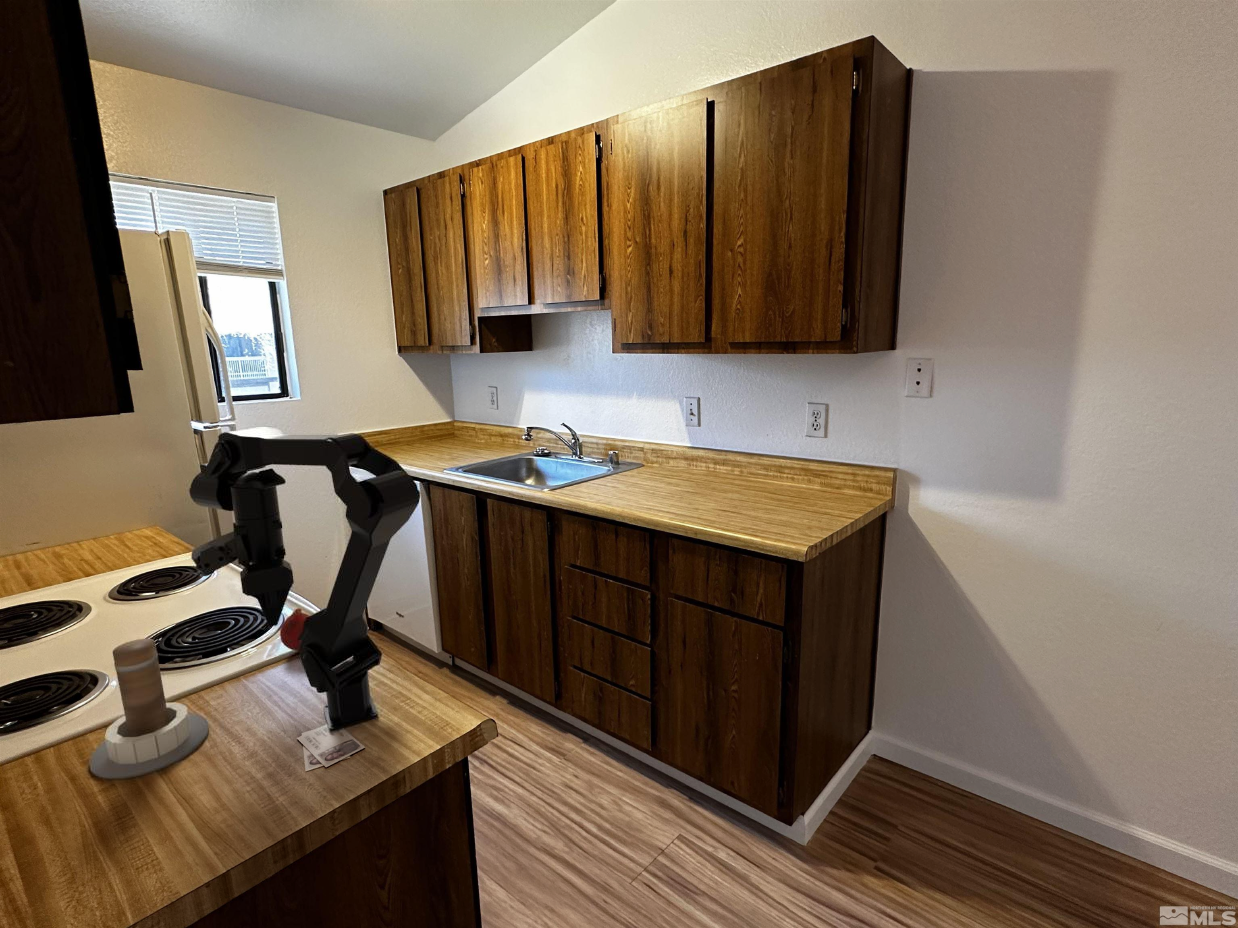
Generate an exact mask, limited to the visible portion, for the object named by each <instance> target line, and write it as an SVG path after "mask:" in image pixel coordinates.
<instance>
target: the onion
mask: <svg viewBox="0 0 1238 928" xmlns="http://www.w3.org/2000/svg"><path fill="white" fill-rule="evenodd" d="M310 615H311V614H307V613H305V612H302V608H301V607H296V608H295V609H294V610H293V612H292V613H291V614H290V615H288V617H286V619H285V620H284V622H283V623H282V624H281V626H280V630H279V635H280V637H279V638H280V641H281V643H282V644H283V645H284V646H285V647H286V648H288V649H290V650H291V651H295V652H299V646H300V642H301V640H298V637H299V636H300V635H301V633H302V630H303V623H304V621H305V619H306V618H307V617H308V616H310Z"/></svg>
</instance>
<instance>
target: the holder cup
mask: <svg viewBox="0 0 1238 928" xmlns="http://www.w3.org/2000/svg"><path fill="white" fill-rule="evenodd" d="M166 707H167V712H168V718H169V724H168V725H167V726H165V727H163V728H161V729H159V730H157V731H155V732H153V733H149V734H146V735H142V736H139V737H129V733H128V728H127V723H126V718H125V715H122V716H121V717H119V718H117V720H115V721H114V722H113V723H112V724H110V725H109V726H108V727H107V729H106V732H105V735H104V741H102V742H101V743H100V744H98V746H97V747H96V748H95V749H94V750H93V752H92V754H91V755H90V757H89V761H88V764H89V765H88V766H89V769H90V770H89V771H90V772H91V774H92V775H94V776H95V777H98V778H99V779H100V778H101V779H104V780H105V779H106V780H124V779H125V780H126V779H133V778H136V777H141V776H144V775H147V774H150V773H154V772H157V771H159V770H162V769H165V768H166V767H169V766H171V765H173V764H174V763H177V762H179V761H181V760H182V759H184V758H185V757H187V756H189V755H190V754H191V753H193V752H194V751H196V750H197V748H199V747H200V746H201V745H202V744H203V742H204V741H205V740H206V739H207V737H208V734H209V731H210V727H209V722H208V720H207V719H206V717H204V716H202V714H201V715H200V714H198V713H193V712H189V710H188V709H189V708H188V707H187V706H186V705H185V704H183V703H180V702H175V701H174V702H166Z"/></svg>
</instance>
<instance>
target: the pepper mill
mask: <svg viewBox="0 0 1238 928" xmlns="http://www.w3.org/2000/svg"><path fill="white" fill-rule="evenodd" d="M112 657H113V662H114V664H113V665H114V670H115V672H116V677H117V682H118V686H119V687H118V688H119V692H120V697H121V702H122V707H123V713H124V716H125V718H126V723H127V728H128V733H129V737H139V736H142V735H146V734H149V733H153V732H155V731H157V730H159V729H161V728H163V727H165V726H167V725H168V724H169V718H168V712H167V707H166V703H167V701H166V695H165V691H164V685H163V680H162V674H161V669H160V664H159V663H160V662H159V655H158V651H157V646H156V642H155V640H154V639H152V638H140V639H139V638H137V639H133V640H130V641H127V642H124V643H122V644H119V645H117V647H115V648H114V649H113V650H112Z"/></svg>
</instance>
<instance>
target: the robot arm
mask: <svg viewBox="0 0 1238 928" xmlns="http://www.w3.org/2000/svg"><path fill="white" fill-rule="evenodd" d="M354 464H356V466H357V467H358V468H360V469H363V470H364V471H366V472H368V473H369V474H371V475H373V476H374V477H370V478H366V479H363V480H359V481H358V480H357V479H356V478H355V477H354V476H353V475H352V473H351V470H350V465H354ZM272 465H275V466H276V465H277V466H278V465H279V466H280V465H281V466H282V465H283V466H310V467H313V466H314V467H315V466H316V467H317V466H318V467H325V468H326V469H327V470H328V471H329V472H330V473H331V479H332V484H333V491H334V493H335V495H336V496H337V497H338V498H339V499H340V501H341V502H342V503H343V504H344V505H345V507H346V508H345V519H346V521H347V523H348V526H349V527H350V531H351V533H350V536H349V539H348V542H347V545H346V548H345V551H344V555H343V557H342V560H341V563H340V566H339V569H338V572H337V575H336V577H335V580H334V584H333V585H332V586H333V587H332V589H331V592H330V596H329V599H328V601H327V606H326V607H325V608H322V609H319V610H318V611H316V612H314V613H313V614H309V615H310V616H308V617H307V618H306V619H305V621H304V623H303V630H302V633H301V635H300V636H299V637H298V640H301V642H300V646H299V651H298V652H299V659H300V662H301V665H302V667H303V669H304V673H305V675H306V678H307V680H308V683H309V685H310V687H312V688H315V691H316V693H318V694H323V693H326V694H325V695H326V702H327V704H325V705H324V706H323V707H322V709H323V712H324V716H325V720H326V724H327V728H328V730H329V731H330V732H333V731H337V730H340V729H343V728H347V727H350V726H353V725H357V724H360V723H362V722H365V721H369V720H372V719H375V718H377V717H378V716H379V713H378V710H377V707H376V705H375V703H374V701H373V698H372V695H371V689H370V682H369V681H370V680H369V671H370V670H371V669H373V668H375V667H377V666H379V665H380V664H381V661H382V656H383V652H382V651H381V649H379V648H378V646H377V645H376V643H375V642H374V641H373V640H372V638H371V637H370V636H369V635H368V631H369V629H368V627H369V625H368V624H367V622H366V620H365V618H364V613H365V611H366V608H367V605H368V603H369V600H370V599H369V598H370V597H371V594H372V591H373V588H374V585H375V584H376V583H375V582H376V579H377V577H378V575H379V572H380V569H381V567H382V564H383V561H384V558H385V555H386V553H387V550H388V547H389V544H390V542H391V540H392V538H393V537H394V536H395V535H396V534H397V533H398V531H400V530H401V528H403V527H404V526H405V524H406V523H408V521H409V520H410V518H411V517H412V515H413V514H414V512H415V510H416V509H417V507H418V506H419V504H420V500H421V492H420V490H419V488H418V485H417V483H416V482H415V480H414V479H413V477H412V476H411V475H409V473H407V471H406V470H405V468H403V467H402V465H400V463H399V462H398V461H397V460H395V459H394V458H392V457H390V456H389V455H387V454H385V453H383V452H381V451H380V450H378V449H376V448H375V447H373V446H372V445H371V444H370V442H368V441H367V440H366V438H365V437H363V436H362V435H361V434H358V433H353V432H351V433H350V432H349V433H344V434H287V433H284V432H283V431H282V430H281V429H278V428H274V427H269V426H264V425H263V426H262V425H261V426H256V427H250V428H243V429H237V430H231V431H226V432H225V431H224V432H221V433H220V434H218V436H217V442H216V443H215V444H214V446H213V450H212V451H211V455H210V457H209V460H208V462H206V463H201V464H200V465H199V468H200V472H198V474H196V475H195V476H194V478H193V479H192V481H191V484H190V487H189V497H190V498H191V500H192V501H193V503H195V504H196V505H197V506H200V507H204V508H210V509H215V510H222V511H226V512H233V517H234V522H233V523H232V525H233V531H230V532H228V533H226V534H223V535H220V536H218V537H216V538H213V539H211V540H210V541H207V542H205V543H203V544H201V545H199V546H196V548H194V549H192V551H191V557H190V558H191V559H192V561H193V563H194V564H195V568H196V570H198V571H199V572H200V573H201V574H202V575H201V576H203V577H207V576H211V575H213V574H214V573H215V571H216V572H217V570H220V569H221V568H224V567H226V566H227V565H230V564H233V563H234V562H235V561H237V564H238V565H240V566H243V568H242V570H240V572H239V576H240V583H241V590H242V594H244V595H245V596H247V597H252V598H254V599H257V601H258V605H259V607H260V608H261V611H262V614H263V616H264V618H265V621H266V622H267V623H266V624H267V626H268V627H269V628H270V627H271V628H272V627H276V626H277V625H279V622H280V618H281V616H282V613H283V610H284V607H285V605H286V602H287V598H288V596H289V593H290V590H291V588H292V587H293V584H294V583H295V581H294V573H293V568H292V565H291V563H290V562H289V561H287V560H285V556H286V555H287V553H286V552H287V551H286V547H285V544H284V536H283V522H282V519H281V513H280V507H279V506H280V505H279V498H278V497H279V495H278V488H277V487H278V486H283V485H285V484H286V482H287V481H286V479H285V478H284V477H283V476H282V475H281V474H278V473H277V472H276V471H275V469H273V468H268V469H265V468H266V467H267V466H272ZM262 469H263V470H262ZM257 470H259V471H258V472H256V471H257Z"/></svg>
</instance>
